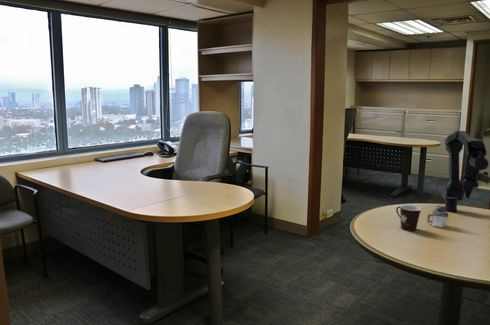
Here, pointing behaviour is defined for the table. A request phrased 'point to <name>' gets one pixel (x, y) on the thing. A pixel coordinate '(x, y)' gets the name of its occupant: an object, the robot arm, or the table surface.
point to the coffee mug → (409, 217)
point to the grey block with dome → (438, 219)
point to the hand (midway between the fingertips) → (467, 197)
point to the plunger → (440, 209)
